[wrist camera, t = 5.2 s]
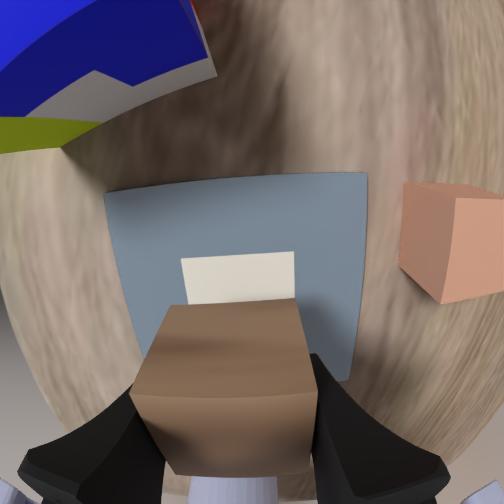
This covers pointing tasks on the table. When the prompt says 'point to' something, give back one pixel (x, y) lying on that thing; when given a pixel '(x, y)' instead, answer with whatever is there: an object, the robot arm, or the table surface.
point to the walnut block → (230, 390)
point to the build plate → (247, 251)
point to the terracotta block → (453, 240)
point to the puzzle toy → (91, 63)
